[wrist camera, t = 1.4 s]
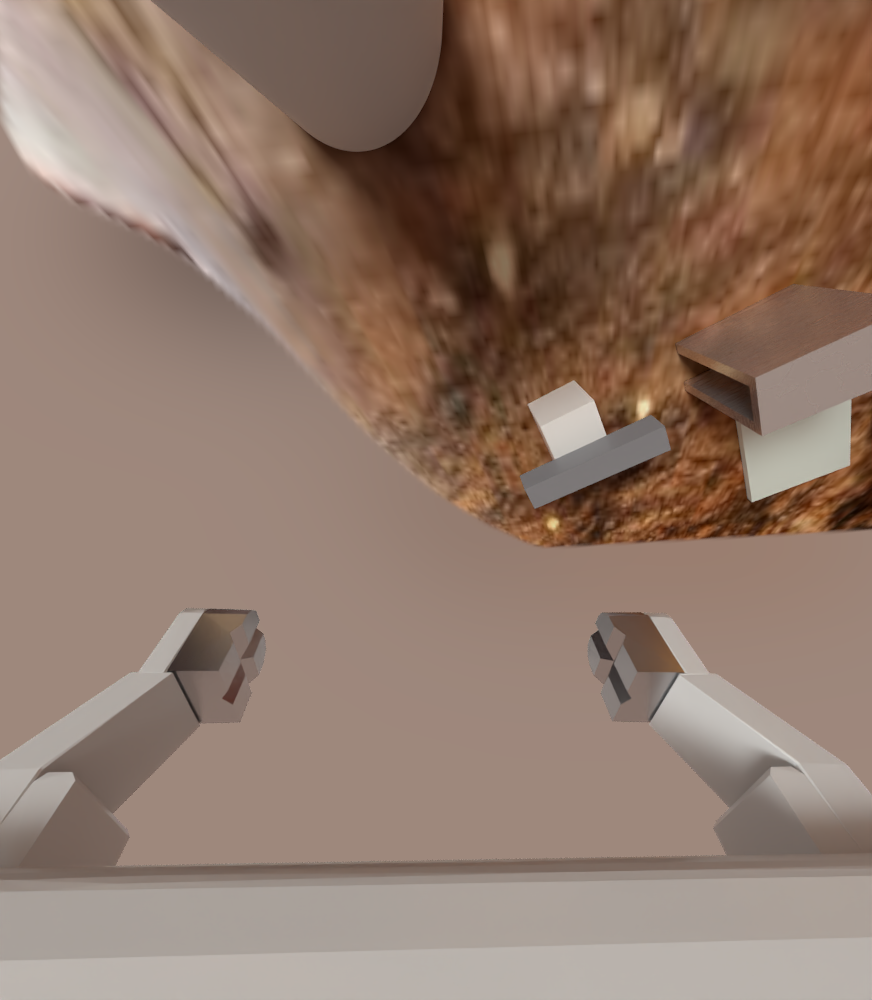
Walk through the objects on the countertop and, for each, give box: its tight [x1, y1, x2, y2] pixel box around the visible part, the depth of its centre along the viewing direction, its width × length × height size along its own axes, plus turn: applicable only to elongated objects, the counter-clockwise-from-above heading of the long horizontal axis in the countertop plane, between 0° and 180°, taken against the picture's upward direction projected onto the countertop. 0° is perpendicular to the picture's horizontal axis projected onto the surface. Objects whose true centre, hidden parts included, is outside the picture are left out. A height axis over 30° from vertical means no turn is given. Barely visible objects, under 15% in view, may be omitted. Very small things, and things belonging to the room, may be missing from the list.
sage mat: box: [736, 399, 851, 502], centre depth 42 cm, size 10×12×1 cm
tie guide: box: [676, 284, 872, 436], centre depth 32 cm, size 10×5×11 cm, turn 120°
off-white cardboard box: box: [527, 381, 606, 460], centre depth 39 cm, size 5×8×6 cm, turn 30°
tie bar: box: [520, 415, 671, 508], centre depth 34 cm, size 12×2×2 cm, turn 120°
